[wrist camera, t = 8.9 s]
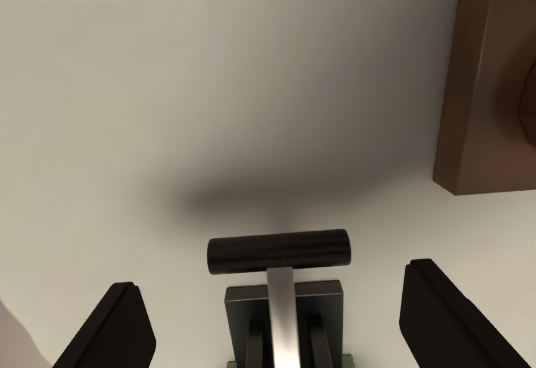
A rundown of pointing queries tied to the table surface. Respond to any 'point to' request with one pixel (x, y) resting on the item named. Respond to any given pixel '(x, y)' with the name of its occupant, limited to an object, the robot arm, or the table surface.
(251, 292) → the bracket
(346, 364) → the toaster
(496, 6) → the control block
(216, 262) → the lever
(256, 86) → the table surface
